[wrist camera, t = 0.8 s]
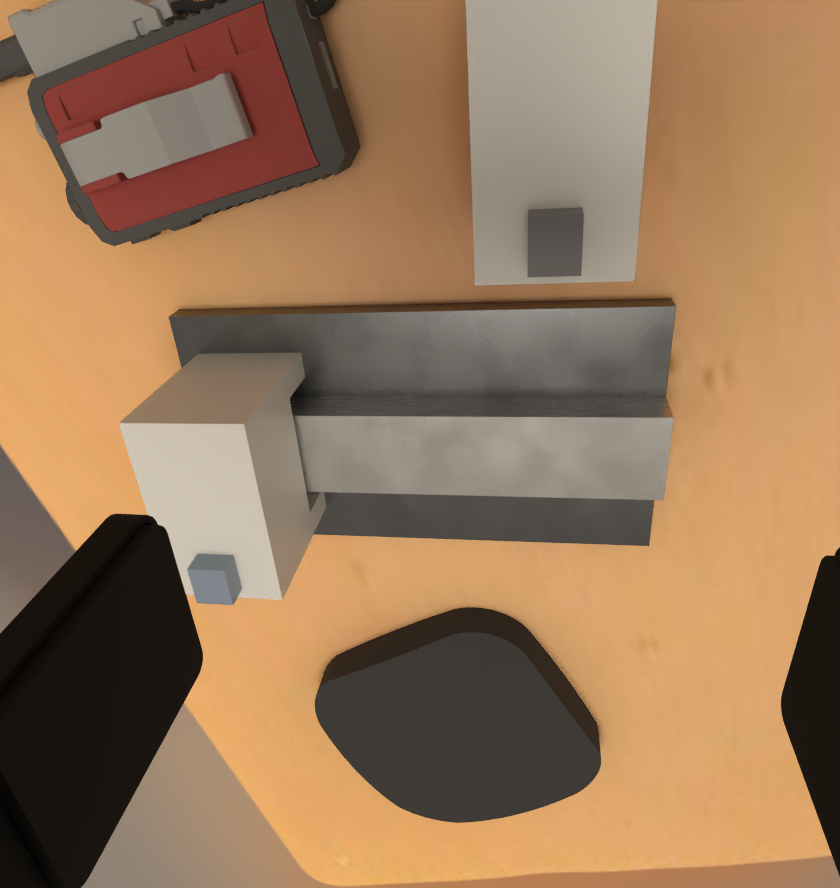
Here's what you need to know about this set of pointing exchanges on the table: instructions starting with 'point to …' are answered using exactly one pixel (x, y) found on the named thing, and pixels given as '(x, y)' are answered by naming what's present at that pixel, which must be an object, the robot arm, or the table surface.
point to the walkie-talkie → (180, 105)
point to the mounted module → (227, 473)
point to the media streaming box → (460, 718)
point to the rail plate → (461, 369)
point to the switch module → (558, 137)
